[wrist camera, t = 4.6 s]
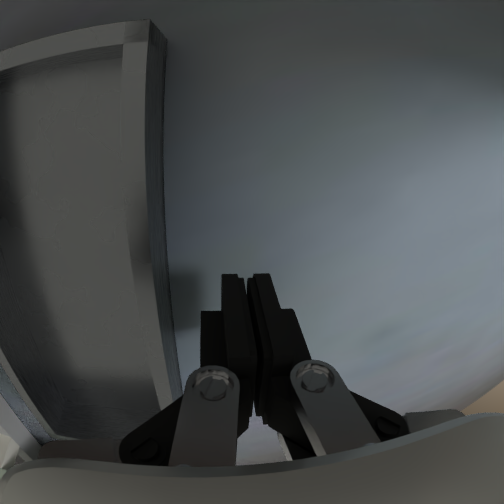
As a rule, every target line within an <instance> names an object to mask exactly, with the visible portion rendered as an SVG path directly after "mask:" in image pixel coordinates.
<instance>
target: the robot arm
mask: <svg viewBox="0 0 504 504" xmlns="http://www.w3.org/2000/svg"><path fill="white" fill-rule="evenodd" d="M253 400H254V406H255V413H256V416H262V419H263V425H264V424H268V426H269V427H271V428H272V429H274V430H276V431H277V436H278V439H279V442H280V444H281V447H282V449H283V452H284V454H285V457H286V459H287V461H284V462H276V463H266V464H255V465H242V466H236V452H237V438H238V437H239V436H240V435H241V434H242V433H244V432H245V431H246V430H247V429H248V426H249V417H252V409H253ZM0 504H504V414H502V413H478V414H471V415H467V416H465V415H464V414H463V413H462V412H460V411H458V410H455V409H447V410H437V411H425V412H410V413H405V415H404V416H401V415H400V414H398V413H396V412H395V411H392V410H390V409H388V408H386V407H384V406H381V405H379V404H377V403H375V402H373V401H371V400H368V399H366V398H364V397H362V396H360V395H358V394H356V393H354V392H352V391H350V390H349V389H348V388H347V386H346V385H345V383H344V381H343V380H342V378H341V377H340V375H339V373H338V372H337V371H336V370H335V368H334V367H332V366H331V365H329V364H328V363H326V362H323V361H320V360H312V359H311V356H310V353H309V350H308V348H307V345H306V342H305V339H304V337H303V334H302V331H301V328H300V326H299V323H298V320H297V317H296V315H295V312H294V310H293V309H281V308H280V305H279V302H278V298H277V295H276V292H275V289H274V286H273V283H272V280H271V276H270V274H269V273H266V274H253V278H248V280H247V295H246V289H245V284H244V279H243V278H238V275H237V274H222V287H221V311H201V335H200V368H199V369H197V370H195V371H193V372H192V373H191V374H190V375H189V377H188V379H187V382H186V386H185V390H184V394H183V395H182V396H181V397H179V398H178V399H177V400H175V401H174V402H172V403H171V404H170V405H168V406H167V407H166V408H164V409H163V410H161V411H160V412H159V413H157V414H156V415H154V416H153V417H152V418H150V419H149V420H147V421H146V422H145V423H143V424H142V425H140V426H139V427H137V428H136V429H135V430H133V431H132V432H130V433H129V434H128V435H127V436H125V437H124V438H123V439H118V440H113V438H112V437H107V438H95V439H80V440H55V441H50V442H48V443H46V444H45V445H43V446H42V448H41V449H40V451H39V454H38V459H37V460H32V461H27V462H24V463H21V464H18V465H15V466H13V467H11V468H10V469H9V470H7V472H6V473H5V474H4V475H3V476H2V478H1V479H0Z"/></svg>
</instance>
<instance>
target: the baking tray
mask: <svg viewBox="0 0 504 504" xmlns="http://www.w3.org/2000/svg"><path fill="white" fill-rule="evenodd" d="M166 50H167V39H166V38H165V36H164V35H163V34H162V33H161V32H160V30H159V29H158V28H157V27H156V26H155V24H154V23H153V22H152V21H151V20H150V19H144V20H134V21H126V22H118V23H111V24H104V25H98V26H93V27H87V28H82V29H77V30H73V31H68V32H64V33H60V34H56V35H52V36H48V37H44V38H41V39H37V40H34V41H30V42H27V43H24V44H21V45H18V46H15V47H12V48H9V49H6V50H3V51H1V52H0V363H1V365H2V367H3V368H4V370H5V372H6V374H7V375H8V377H9V379H10V380H11V382H12V383H13V385H14V387H15V388H16V390H17V391H18V393H19V394H20V396H21V397H22V399H23V400H24V402H25V403H26V405H27V406H28V408H29V409H30V411H31V412H32V413H33V415H34V416H35V417H36V419H37V420H38V422H39V423H40V424H41V426H42V427H43V428H44V429H45V431H46V432H47V433H48V435H49V436H50V437H51V438H54V439H59V440H80V439H95V438H107V437H112V438H113V440H118V439H123V438H124V437H125V436H127V435H128V434H129V433H130V432H132V431H133V430H135V429H136V428H137V427H139V426H140V425H142V424H143V423H145V422H146V421H147V420H149V419H150V418H152V417H153V416H154V415H156V414H157V413H159V412H160V411H161V410H163V409H164V408H166V407H167V406H168V405H170V404H171V403H172V402H174V401H175V400H177V399H178V398H179V397H181V396H182V395H183V391H182V385H181V378H180V371H179V364H178V357H177V349H176V341H175V333H174V324H173V315H172V306H171V295H170V284H169V272H168V259H167V244H166V227H165V205H164V168H163V122H164V86H165V66H166Z"/></svg>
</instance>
